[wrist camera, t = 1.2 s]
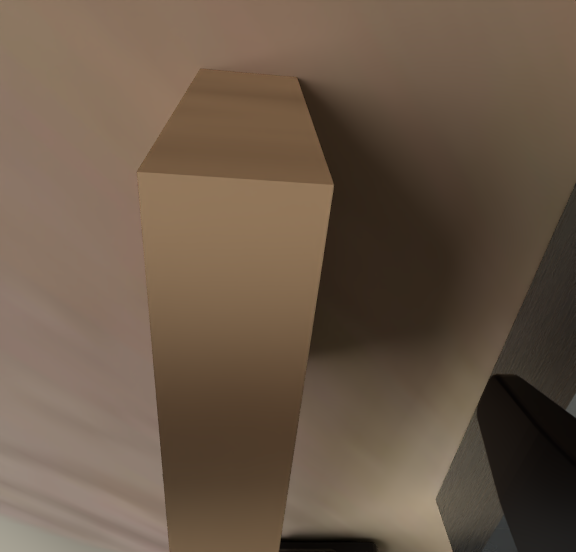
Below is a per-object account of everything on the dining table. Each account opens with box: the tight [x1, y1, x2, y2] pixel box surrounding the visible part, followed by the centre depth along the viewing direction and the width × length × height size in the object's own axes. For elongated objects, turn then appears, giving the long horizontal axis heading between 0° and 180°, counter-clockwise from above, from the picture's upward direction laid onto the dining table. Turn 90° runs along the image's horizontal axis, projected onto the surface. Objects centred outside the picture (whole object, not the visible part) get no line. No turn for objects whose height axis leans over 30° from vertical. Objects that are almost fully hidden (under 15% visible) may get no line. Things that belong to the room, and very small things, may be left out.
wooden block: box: [137, 69, 334, 552], centre depth 9 cm, size 8×2×6 cm, turn 175°
